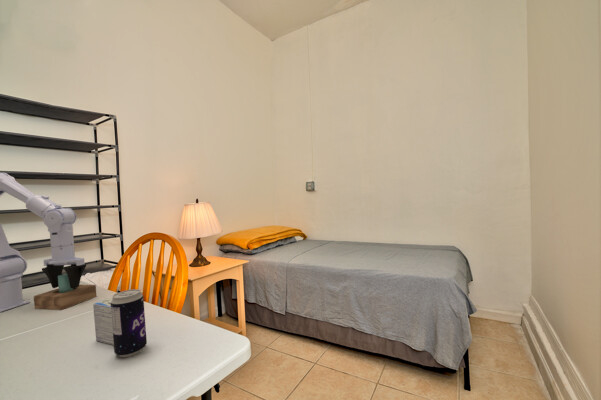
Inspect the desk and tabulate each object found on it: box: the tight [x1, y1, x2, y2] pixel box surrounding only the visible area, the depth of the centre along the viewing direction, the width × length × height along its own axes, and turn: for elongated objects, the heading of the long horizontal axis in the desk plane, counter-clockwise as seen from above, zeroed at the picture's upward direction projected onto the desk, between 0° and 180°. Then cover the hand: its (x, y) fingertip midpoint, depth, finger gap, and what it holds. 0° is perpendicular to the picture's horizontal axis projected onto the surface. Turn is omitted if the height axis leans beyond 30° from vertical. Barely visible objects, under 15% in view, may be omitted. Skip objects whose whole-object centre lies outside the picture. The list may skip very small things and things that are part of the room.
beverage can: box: [111, 288, 148, 358], centre depth 57 cm, size 6×6×12 cm
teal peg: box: [58, 273, 73, 293], centre depth 90 cm, size 4×4×8 cm
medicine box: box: [93, 296, 114, 346], centre depth 63 cm, size 8×4×9 cm, turn 65°
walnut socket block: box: [33, 284, 97, 311], centre depth 90 cm, size 11×11×4 cm
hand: (65, 287), depth 90 cm, fingers open, 7 cm apart
